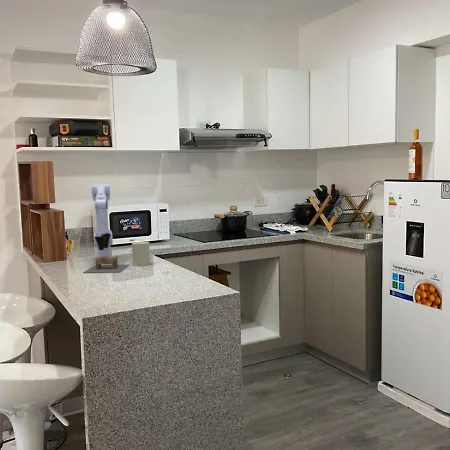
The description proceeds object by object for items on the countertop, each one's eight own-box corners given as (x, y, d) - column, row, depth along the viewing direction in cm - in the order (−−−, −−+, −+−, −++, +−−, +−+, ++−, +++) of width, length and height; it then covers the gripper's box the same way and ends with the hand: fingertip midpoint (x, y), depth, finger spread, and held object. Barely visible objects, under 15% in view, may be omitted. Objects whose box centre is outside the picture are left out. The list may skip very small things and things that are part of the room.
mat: (95, 265, 267) (95, 265, 267) (129, 265, 266) (129, 264, 266) (83, 273, 247) (82, 272, 247) (119, 272, 246) (119, 271, 246)
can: (133, 266, 262) (132, 243, 261) (131, 263, 271) (130, 241, 270) (151, 265, 265) (150, 242, 264) (149, 262, 274) (148, 240, 273)
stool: (117, 267, 259) (117, 256, 259) (115, 269, 254) (114, 257, 254) (98, 267, 260) (97, 256, 259) (95, 269, 255) (95, 258, 254)
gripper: (98, 221, 268) (100, 247, 269) (90, 224, 254) (91, 251, 255) (111, 221, 268) (113, 246, 269) (104, 223, 253) (105, 250, 255)
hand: (103, 249), depth 262 cm, fingers open, 7 cm apart
